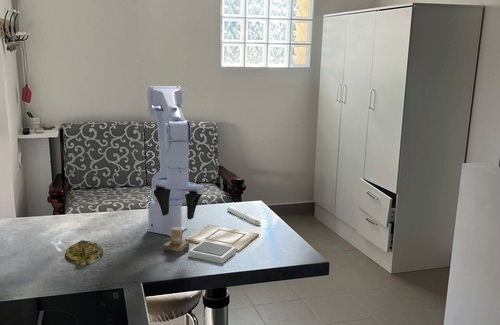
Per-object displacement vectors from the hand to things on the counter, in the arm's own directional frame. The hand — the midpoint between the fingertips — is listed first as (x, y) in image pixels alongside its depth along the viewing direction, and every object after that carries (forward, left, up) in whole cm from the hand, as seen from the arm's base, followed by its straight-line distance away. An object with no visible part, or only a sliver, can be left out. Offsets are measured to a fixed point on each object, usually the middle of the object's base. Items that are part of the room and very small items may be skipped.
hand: (177, 216), depth 131 cm
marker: (+4, +34, -10) cm, 36 cm away
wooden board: (+6, +14, -10) cm, 18 cm away
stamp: (-1, 0, -10) cm, 10 cm away
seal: (-21, -13, -10) cm, 26 cm away
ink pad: (+9, +2, -10) cm, 14 cm away
